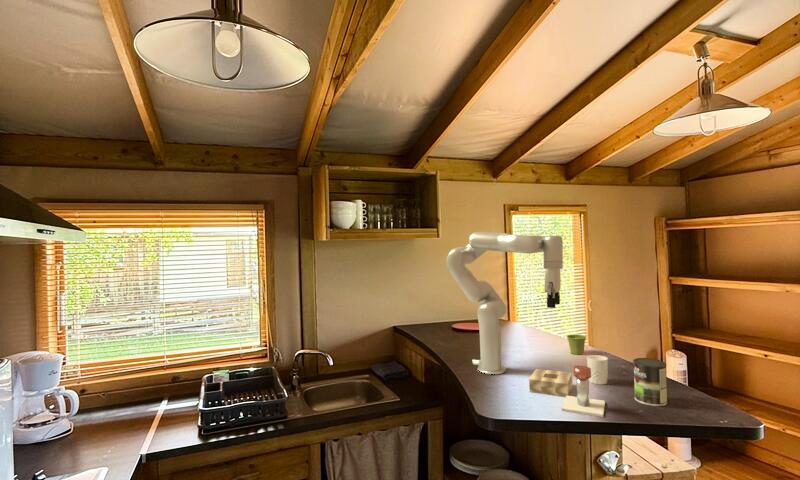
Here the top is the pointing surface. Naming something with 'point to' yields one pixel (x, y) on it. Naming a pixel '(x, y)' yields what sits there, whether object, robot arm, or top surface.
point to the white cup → (598, 368)
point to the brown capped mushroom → (582, 384)
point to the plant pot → (576, 344)
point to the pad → (594, 408)
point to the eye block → (551, 382)
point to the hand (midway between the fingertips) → (553, 305)
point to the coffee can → (650, 381)
